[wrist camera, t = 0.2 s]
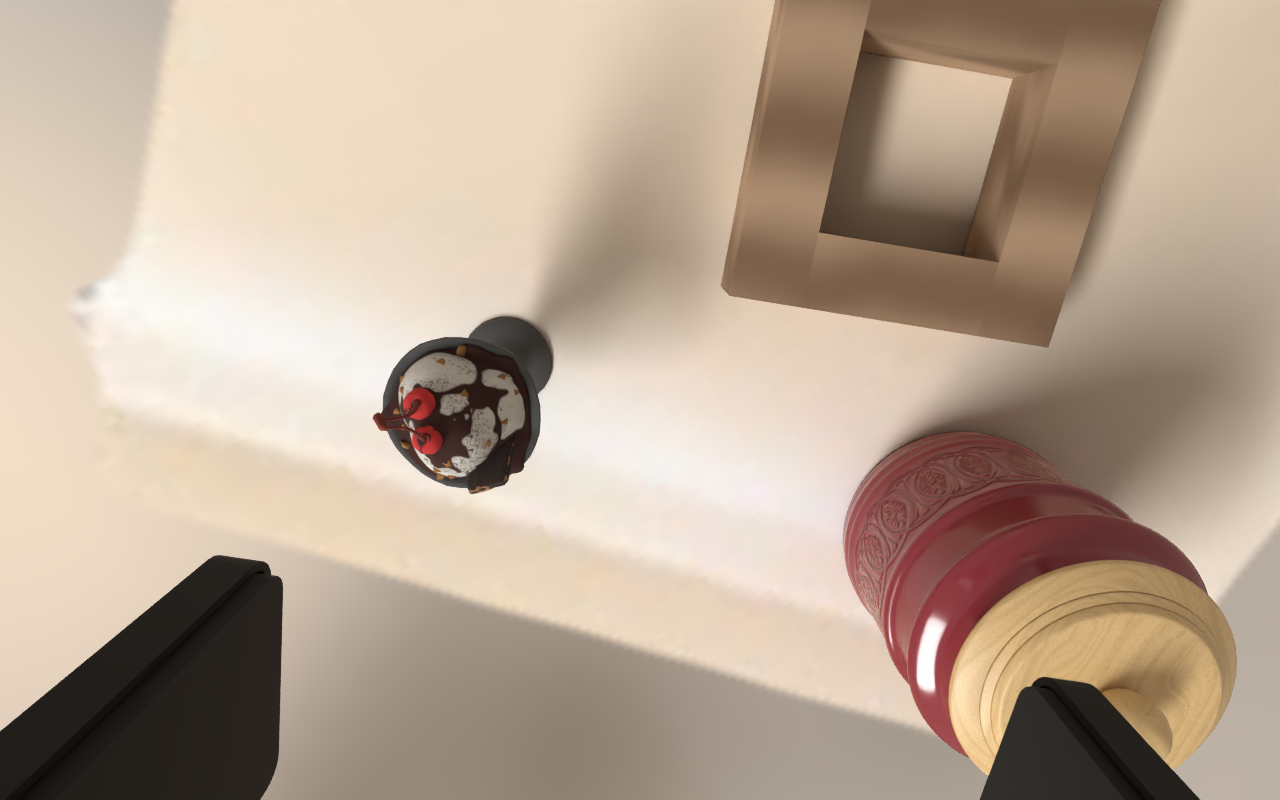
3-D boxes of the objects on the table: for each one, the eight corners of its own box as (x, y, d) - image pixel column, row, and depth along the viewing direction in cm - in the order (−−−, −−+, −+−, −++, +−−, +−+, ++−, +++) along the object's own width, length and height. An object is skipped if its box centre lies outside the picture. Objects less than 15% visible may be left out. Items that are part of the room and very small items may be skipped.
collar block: (784, -47, 34) (802, -79, 30) (1107, 11, 34) (1165, -13, 30) (720, 285, 38) (729, 295, 34) (1008, 332, 39) (1048, 347, 35)
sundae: (445, 298, 38) (324, 358, 24) (568, 305, 38) (522, 370, 24) (447, 414, 40) (335, 534, 26) (564, 421, 40) (519, 545, 26)
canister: (957, 659, 44) (1150, 945, 27) (793, 555, 42) (892, 792, 25) (1104, 502, 41) (1424, 713, 24) (935, 382, 39) (1154, 521, 22)
